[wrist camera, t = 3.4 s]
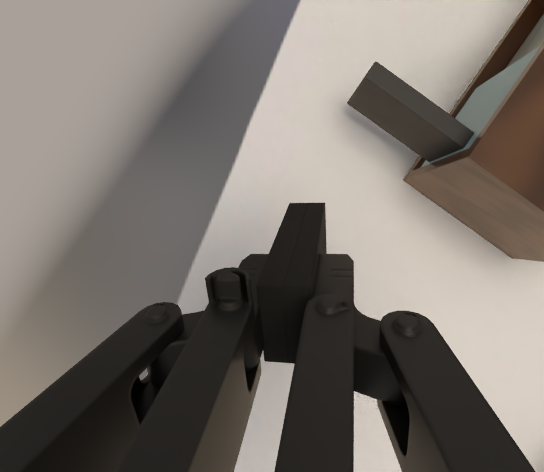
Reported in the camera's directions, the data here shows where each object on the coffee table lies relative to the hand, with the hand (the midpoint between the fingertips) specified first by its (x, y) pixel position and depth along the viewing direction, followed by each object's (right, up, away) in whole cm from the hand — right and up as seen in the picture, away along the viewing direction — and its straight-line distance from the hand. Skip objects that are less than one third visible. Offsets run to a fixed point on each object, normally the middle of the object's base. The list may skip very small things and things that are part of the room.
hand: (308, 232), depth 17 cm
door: (+9, +10, +13) cm, 19 cm away
